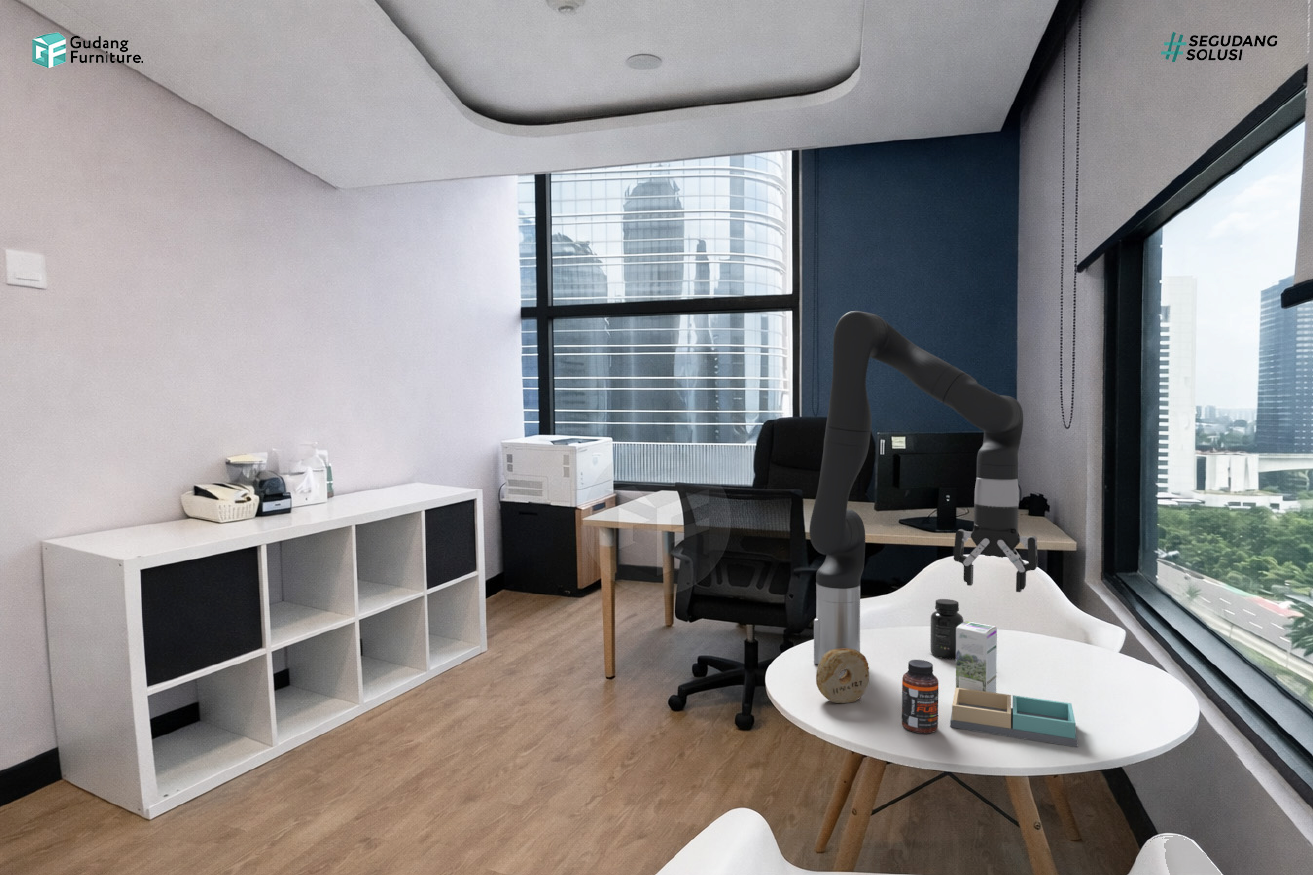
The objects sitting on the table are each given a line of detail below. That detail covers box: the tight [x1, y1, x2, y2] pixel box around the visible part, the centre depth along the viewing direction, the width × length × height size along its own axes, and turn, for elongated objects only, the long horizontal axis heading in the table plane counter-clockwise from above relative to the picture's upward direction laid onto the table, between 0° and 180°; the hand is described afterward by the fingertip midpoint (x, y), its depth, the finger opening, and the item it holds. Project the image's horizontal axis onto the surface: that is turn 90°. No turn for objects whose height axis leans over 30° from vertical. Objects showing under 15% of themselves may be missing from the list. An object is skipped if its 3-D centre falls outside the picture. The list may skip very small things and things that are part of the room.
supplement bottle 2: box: [929, 598, 964, 660], centre depth 168 cm, size 7×7×12 cm
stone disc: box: [815, 648, 870, 704], centre depth 143 cm, size 10×4×10 cm, turn 106°
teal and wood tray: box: [949, 687, 1078, 748], centre depth 131 cm, size 19×10×4 cm, turn 65°
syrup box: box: [955, 620, 998, 693], centre depth 141 cm, size 6×6×14 cm
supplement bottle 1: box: [901, 659, 940, 735], centre depth 130 cm, size 6×6×11 cm
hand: (994, 588), depth 142 cm, fingers open, 8 cm apart
